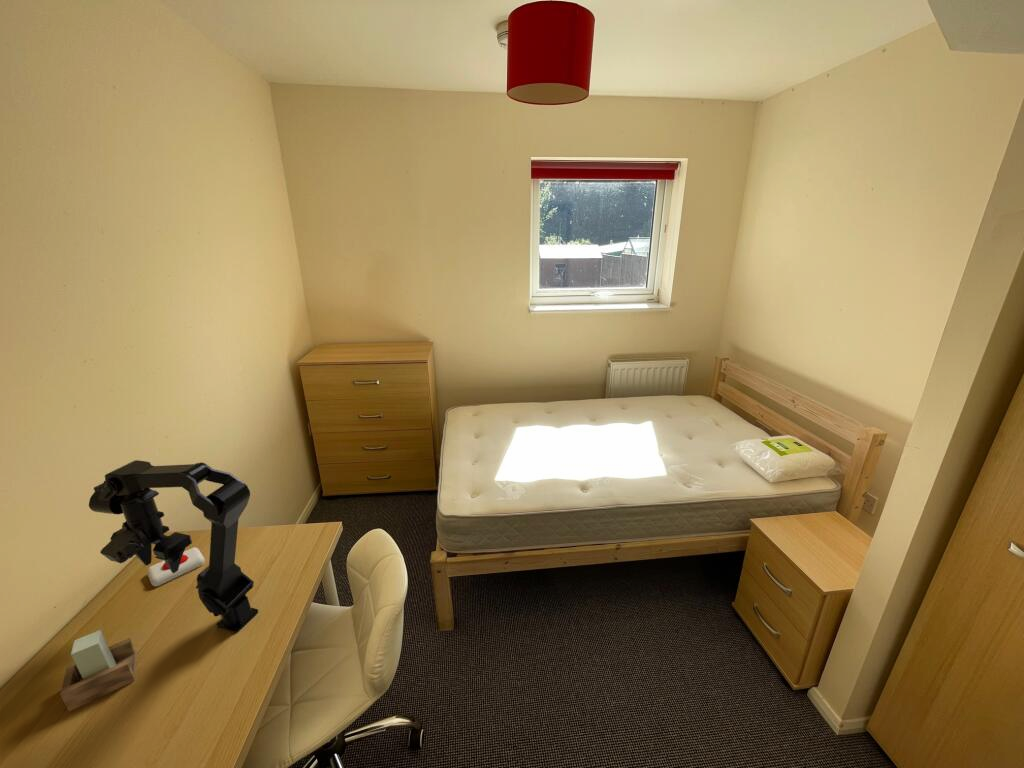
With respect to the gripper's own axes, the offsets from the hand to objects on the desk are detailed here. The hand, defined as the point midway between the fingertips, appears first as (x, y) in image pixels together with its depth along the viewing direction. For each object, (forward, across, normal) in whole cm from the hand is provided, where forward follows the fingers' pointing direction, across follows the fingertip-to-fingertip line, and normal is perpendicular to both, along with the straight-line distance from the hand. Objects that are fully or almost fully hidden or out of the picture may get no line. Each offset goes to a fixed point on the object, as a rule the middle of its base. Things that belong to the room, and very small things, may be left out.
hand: (161, 568), depth 103 cm
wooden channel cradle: (+13, +4, -18) cm, 23 cm away
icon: (+14, -15, +11) cm, 23 cm away
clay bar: (+12, +4, -18) cm, 22 cm away
